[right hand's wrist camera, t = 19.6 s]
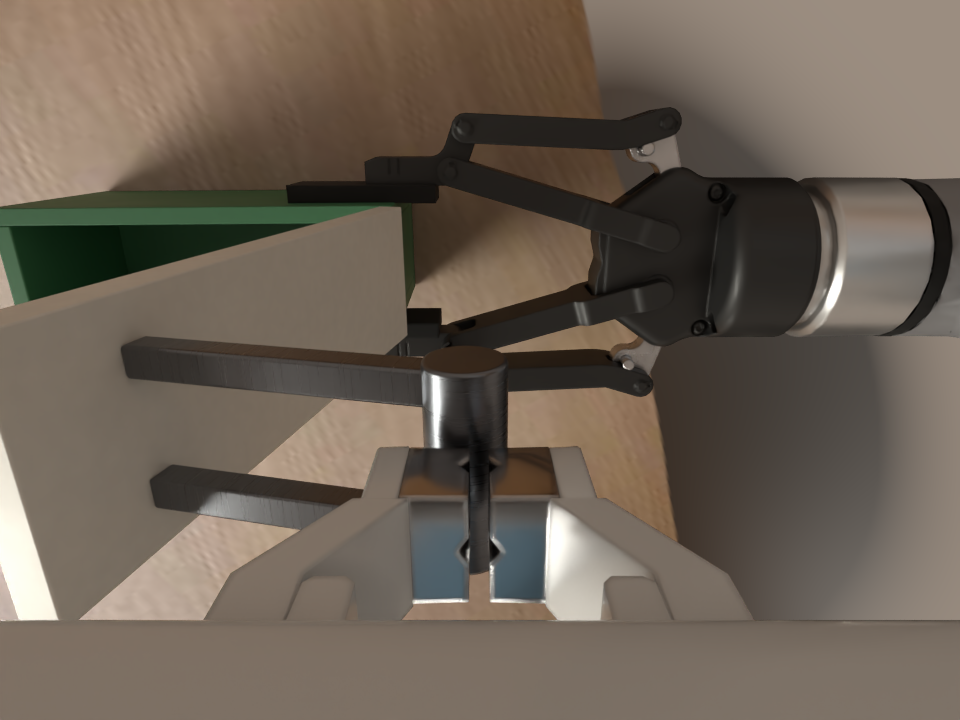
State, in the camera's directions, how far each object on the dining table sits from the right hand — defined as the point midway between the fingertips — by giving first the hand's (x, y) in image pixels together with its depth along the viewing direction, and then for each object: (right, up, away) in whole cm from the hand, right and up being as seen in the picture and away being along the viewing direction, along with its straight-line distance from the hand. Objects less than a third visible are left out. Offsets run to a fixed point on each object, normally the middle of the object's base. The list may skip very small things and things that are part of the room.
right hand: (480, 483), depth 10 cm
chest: (-12, +9, +25) cm, 29 cm away
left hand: (-8, +7, +19) cm, 22 cm away
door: (-6, +3, +8) cm, 11 cm away
